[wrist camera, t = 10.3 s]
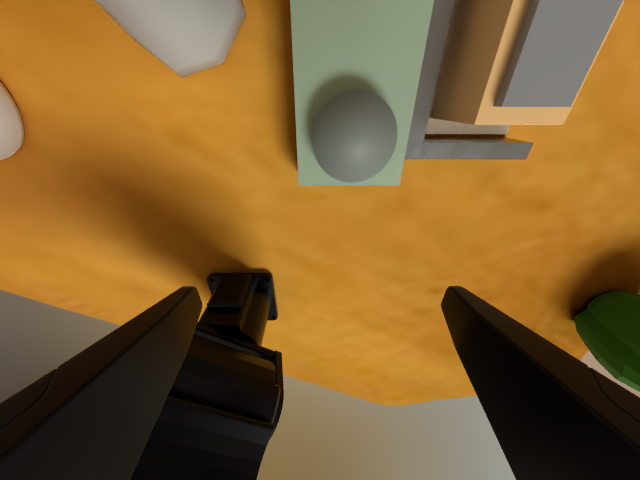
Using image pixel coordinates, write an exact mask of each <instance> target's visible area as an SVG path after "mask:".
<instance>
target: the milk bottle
mask: <svg viewBox="0 0 640 480" xmlns="http://www.w3.org/2000/svg"><path fill="white" fill-rule="evenodd" d="M24 133H25V132H24V126H23V121H22V118H21V115H20V112H19V110H18V108H17V106H16V104H15V102H14V100H13V98H12V97H11V95H10V94H9V93H8V91H7V90H6V88H5V87H4V85H3V84H2V83H1V82H0V160H3V159H6V158H8V157H10V156H12V155H13V154H14V153H15V152H16V151H17V150H18V149H20V147H21V145H22V143H23V141H24Z"/></svg>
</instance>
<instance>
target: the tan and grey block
mask: <svg viewBox="0 0 640 480" xmlns="http://www.w3.org/2000/svg"><path fill="white" fill-rule="evenodd" d="M624 1H625V0H459V2H458V7H457V11H456V16H455V20H454V25H453V29H452V33H451V38H450V42H449V47H448V51H447V56H446V60H445V64H444V69H443V73H442V78H441V82H440V86H439V91H438V95H437V100H436V104H435V109H434V113H433V117H432V118H434V119H440V120H446V121H453V122H459V123H465V124H472V125H563V124H564V122H565V120H566V118H567V116H568V114H569V112H570V110H571V108H572V106H573V104H574V102H575V100H576V98H577V96H578V94H579V92H580V90H581V88H582V86H583V84H584V82H585V80H586V78H587V76H588V74H589V72H590V70H591V68H592V66H593V64H594V62H595V60H596V58H597V56H598V54H599V52H600V50H601V48H602V46H603V44H604V42H605V40H606V38H607V36H608V33H609V31H610V29H611V27H612V25H613V23H614V21H615V19H616V17H617V15H618V13H619V11H620V9H621V7H622V5H623V3H624Z"/></svg>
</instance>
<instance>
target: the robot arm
mask: <svg viewBox="0 0 640 480" xmlns="http://www.w3.org/2000/svg"><path fill="white" fill-rule="evenodd" d="M212 278H213V279H212ZM266 278H269V279H266ZM207 282H208V285H209V288H210V291H211V294H212V296H211V298H210V300H209V301H208V303H207V307H206V309H205V311H204V313H203V314H202V316H201V318H200V320H199V322H198V319H199V316H200V313H201V310H202V301H201V299H200V296H199V293H198V291H197V288H196V287H193V286H184V287H181V288H180V289H178V290H176V291H175V292H173V293H172V294H170V295H169V296H167V297H166V298H164V299H162V300H161V301H159V302H158V303H156V304H155V305H153V306H152V307H150V308H148V309H147V310H145V311H144V312H142V313H141V314H139V315H138V316H136V317H135V318H133V319H131V320H130V321H128V322H127V323H125V324H124V325H122V326H121V327H119V328H117V329H116V330H114V331H113V332H111V333H110V334H108V335H107V336H105V337H104V338H102V339H100V340H99V341H97V342H96V343H94V344H93V345H91V346H89V347H88V348H86V349H85V350H83V351H82V352H80V353H79V354H77V355H76V356H74V357H73V358H71V359H69V360H68V361H66V362H65V363H63V364H61V365H60V366H59V367H58V368H57V369H54V370H52V371H51V372H49V373H48V374H46V375H44V376H43V377H41V378H40V379H38V380H37V381H35V382H34V383H32V384H30V385H29V386H27V387H25V388H24V389H22V390H21V391H19V392H18V393H16V394H14V395H13V396H11V397H10V398H8V399H6V400H5V401H3V402H1V403H0V480H256V479H257V475H258V471H259V467H260V464H261V461H262V458H263V455H264V452H265V449H266V446H267V444H268V441H269V440H270V438H271V437H272V435H273V433H274V431H275V429H276V426H277V424H278V421H279V418H280V414H281V410H282V406H283V396H284V393H283V392H284V391H283V372H282V353H281V352H278V351H273V350H270V349H267V348H265V347H262V346H261V344H262V340H263V336H264V331H265V327H266V323H267V320H276V319H277V316H278V312H277V304H276V297H275V290H274V282H273V276H272V275H271V274H269V273H211V274H209V275H208V277H207ZM441 307H442V311H443V314H444V317H445V320H446V323H447V326H448V328H449V331H450V334H451V337H452V340H453V343H454V346H455V348H456V351H457V353H458V355H459V357H460V360H461V362H462V364H463V366H464V368H465V370H466V373H467V375H468V377H469V379H470V381H471V383H472V385H473V388H474V390H475V392H476V394H477V396H478V398H479V401H480V403H481V405H482V407H483V409H484V411H485V413H486V416H487V418H488V420H489V422H490V424H491V426H492V428H493V431H494V433H495V435H496V437H497V439H498V441H499V444H500V446H501V448H502V450H503V452H504V454H505V456H506V459H507V461H508V463H509V465H510V467H511V469H512V472H513V474H514V476H515V478H516V480H640V398H639V397H638V396H636V395H635V394H633V393H631V392H630V391H628V390H626V389H625V388H623V387H621V386H620V385H618V384H617V383H615V382H613V381H611V380H610V379H608V378H607V377H605V376H604V375H602V374H600V373H599V372H597V371H596V370H594V369H592V368H589V367H588V366H587V365H586V364H584V363H583V362H581V361H580V360H578V359H576V358H575V357H573V356H572V355H570V354H568V353H567V352H565V351H564V350H562V349H560V348H559V347H557V346H556V345H554V344H552V343H551V342H549V341H548V340H546V339H544V338H543V337H541V336H540V335H538V334H537V333H535V332H533V331H532V330H530V329H529V328H527V327H525V326H524V325H522V324H521V323H519V322H517V321H516V320H514V319H513V318H511V317H509V316H508V315H506V314H505V313H503V312H501V311H500V310H498V309H497V308H495V307H493V306H492V305H490V304H489V303H487V302H485V301H484V300H482V299H481V298H479V297H477V296H476V295H474V294H473V293H471V292H469V291H468V290H466V289H465V288H463V287H461V286H449V287H448V288H447V290H446V292H445V295H444V297H443V300H442V303H441Z"/></svg>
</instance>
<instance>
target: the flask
mask: <svg viewBox="0 0 640 480" xmlns="http://www.w3.org/2000/svg"><path fill="white" fill-rule="evenodd" d="M95 1H96V2H97V3H98V4H99V5H100V6H101V7H102V8H103V9H104V10H105V11H106V12H107V13H108V14H109V15H110V16H111V17H112V18H113V19H114V20H115V21H116V22H117V23H118V24H119V25H120V26H121V27H122V28H123V29H124V31H125V32H126V33H127V34H129V35H130V36H131V37H132V38H133V39H134V40H135V41H136V42H137V43H139V44H140V45H141V46H143V47H144V48H145V49H146V50H148V51H149V52H150V53H151V54H153V55H154V56H155V57H157V58H158V59H159V60H160V61H162V62H163V63H164V64H166V65H167V66H168V67H169V68H171V69H172V70H173V71H174V72H176V73H177V74H178V75H180V76H181V77H185V76H187V75H190V74H193V73H196V72H199V71H202V70H205V69H208V68H211V67H214V66H217V65H220V64H223V63H224V61H225V58H226V56H227V54H228V52H229V50H230V48H231V46H232V43H233V41H234V39H235V37H236V35H237V33H238V31H239V28H240V26H241V24H242V22H243V20H244V18H245V16H246V12H245V9H244V6H243V3H242V0H95Z"/></svg>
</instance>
